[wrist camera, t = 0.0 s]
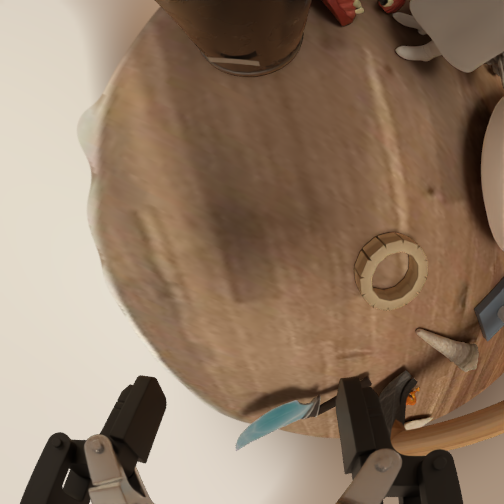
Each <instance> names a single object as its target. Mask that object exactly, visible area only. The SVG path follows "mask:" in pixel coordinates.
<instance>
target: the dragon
mask: <svg viewBox="0 0 504 504" xmlns="http://www.w3.org/2000/svg"><path fill="white" fill-rule="evenodd" d="M419 388H420V387H418V388H415V389H416V391H413V392H411V393H410V394H411V395H412V398H413V400H411V397H410V396H408V397H407V400H406V405H408V404H409V405H414V404H415V403H416V397H415V392H417V391H420V390H418V389H419Z"/></svg>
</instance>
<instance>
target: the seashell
mask: <svg viewBox="0 0 504 504" xmlns="http://www.w3.org/2000/svg"><path fill="white" fill-rule="evenodd" d="M416 333H417V334H418V335H419V336H420V337H421V338H422V339H423V340H425V341H426V342H427V343H428V344H429V345H431V346H432V347H434V348H435V349H436V350H438V351H439V352H441V353H442V354H443V355H445V356H446V357H447V358H448V359H450V361H451V362H454V363H455V364H456V365H457V366H458V367H459V368H460V369H462V370H463V371H465V372H467V371H470V370H471V369H472V370H475V369H476V367H477V362H478V356H479V355H478V353H479V352H478V347H477V345H476V344H470V343H465V342H459V341H454V340H451V339H449V338H445V337H442V336H440V335H436V334H434V333H431V332H429V331H426V330H423V329H417V330H416Z"/></svg>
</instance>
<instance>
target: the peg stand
mask: <svg viewBox="0 0 504 504" xmlns="http://www.w3.org/2000/svg"><path fill="white" fill-rule="evenodd" d="M474 310H475V313H476V316H477V319H478V321H479V324H480V327H481V330H482V333H483V336H484V338H485V339H486V340H487V341H489V340H490V339H491V338H492V337H493V336H494V335H495V334H496V333H497V332H498V331H499V330H500V328H501V327H502V326H503V325H504V277H503V279H502V280H501V281H500V282H499V283H498V284H497V285H496V287H495V288H494V289H493V290H492V291H491V292H490V293H489V294H488V295H487V296H486V297H485V298H484V299H483V300H482V302H481V303H480V304H479V305H478V306H477V307H476V308H475V309H474Z"/></svg>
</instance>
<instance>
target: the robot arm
mask: <svg viewBox="0 0 504 504" xmlns="http://www.w3.org/2000/svg"><path fill="white" fill-rule="evenodd" d="M155 1H156V2H157V3H158V4H159V5H160V6H161V7H162V8H163V9H164V10H165V11H166V12H167V13H168V14H169V15H170V17H171V18H172V19H173V20H174V21H175V22H176V23H177V24H178V25H179V26H180V27H181V28H182V30H183V31H184V32H185V33H186V34H187V35H188V36H189V37H190V39H191V40H192V41H193V42H194V43H195V45H196V46H197V47H198V48H199V49H200V51H201V53H202V54H203V56H204V57H205V58H206V59H207V60H208V61H209V63H211V64H212V65H213V66H214V67H216V68H217V69H219V70H221V71H223V72H225V73H228V74H232V75H236V76H244V77H253V76H261V75H266V74H269V73H272V72H274V71H277V70H279V69H281V68H282V67H284V66H285V65H287V64H288V63H289V62H290V61H291V60H292V59H293V58H294V57H295V56H296V54H297V53H298V51H299V49H300V47H301V43H302V40H303V31H304V28H305V24H306V21H307V17H308V13H309V9H310V5H311V2H312V0H155ZM165 409H166V397H165V395H164V393H163V391H162V389H161V387H160V385H159V383H158V381H157V379H156V378H155V377H148V376H138V377H137V379H136V381H135V383H134V385H129V386H128V387H127V388H125V389H124V390H123V391H122V393H121V395H120V396H119V398H118V402H116V404H115V406H114V408H113V410H112V412H111V414H110V416H109V418H108V419H107V422H106V423H105V426H104V428H103V429H102V431H101V433H100V434H97V435H93V436H91V437H90V438H88V439H87V440H71V439H70V438H69V437H68V436H67V435H66V434H64V433H61V432H60V433H55V434H53V435H52V436H51V437H50V438H49V440H48V442H47V444H46V446H45V448H44V450H43V452H42V454H41V456H40V458H39V460H38V462H37V464H36V466H35V469H34V471H33V473H32V475H31V478H30V480H29V482H28V485H27V487H26V490H25V492H24V495H23V497H22V499H21V502H20V504H89V502H90V500H91V502H92V504H154V503H153V502H152V500H151V499H150V497H149V495H148V493H147V491H146V489H145V486H144V484H143V482H142V480H141V477H140V475H139V472H138V470H137V468H136V464H137V461H138V462H142V463H146V462H147V459H148V456H149V453H150V450H151V448H152V445H153V442H154V439H155V436H156V434H157V431H158V428H159V426H160V423H161V420H162V417H163V415H164V412H165ZM336 413H337V420H338V426H339V433H340V440H341V447H342V454H343V463H344V471H345V474H348V473H352V478H353V481H352V483H351V484H350V485H349V487H348V488H347V489H346V491H345V492H344V494H343V495H342V496H341V497H340V499H339V500H338V501H337V503H336V504H381V502H382V500H383V499H384V497H398V498H399V504H463V500H462V495H461V490H460V485H459V480H458V476H457V472H456V468H455V464H454V460H453V457H452V455H451V454H450V453H449V452H448V451H446V450H443V449H437V450H433V451H431V452H430V453H428V454H427V455H426V456H406V455H403V454H400V453H399V452H397V451H396V450H395V449H394V448H393V446H392V443H391V440H390V436H389V432H388V428H387V425H386V421H385V418H384V415H383V411H382V407H381V404H380V401H379V397H378V395H377V394H376V392H375V391H374V390H373V389H372V388H371V387H365V388H362V387H361V383H360V380H359V377H349V378H341V379H340V382H339V388H338V393H337V398H336ZM68 469H71V470H70V472H69V475H68V477H67V480H66V482H65V485H64V488H62V485H63V482H64V479H65V477H66V474H67V472H68Z"/></svg>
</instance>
